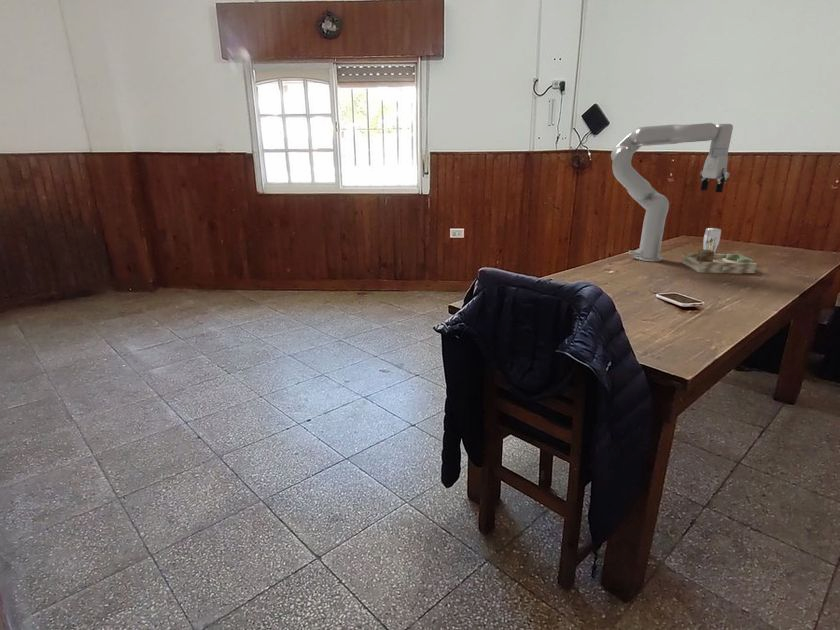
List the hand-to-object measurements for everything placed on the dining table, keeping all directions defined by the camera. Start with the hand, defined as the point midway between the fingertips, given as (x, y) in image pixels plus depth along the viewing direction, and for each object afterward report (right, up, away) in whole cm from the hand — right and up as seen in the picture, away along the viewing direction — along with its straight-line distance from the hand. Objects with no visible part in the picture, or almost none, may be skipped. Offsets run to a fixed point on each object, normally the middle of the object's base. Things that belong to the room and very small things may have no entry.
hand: (711, 191), depth 235 cm
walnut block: (-4, -33, -1) cm, 33 cm away
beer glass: (+8, -30, +17) cm, 35 cm away
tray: (+2, -36, -1) cm, 36 cm away
